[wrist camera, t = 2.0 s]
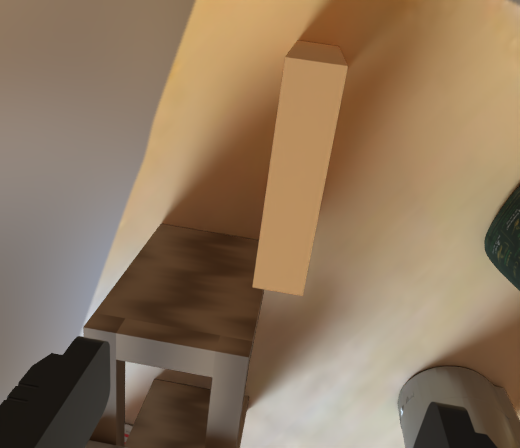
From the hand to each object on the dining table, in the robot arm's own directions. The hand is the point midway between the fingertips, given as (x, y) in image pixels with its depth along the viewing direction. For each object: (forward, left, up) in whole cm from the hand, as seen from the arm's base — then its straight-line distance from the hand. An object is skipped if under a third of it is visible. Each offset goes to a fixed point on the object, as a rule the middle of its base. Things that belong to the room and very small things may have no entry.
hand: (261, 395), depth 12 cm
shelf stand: (+6, +20, -28) cm, 35 cm away
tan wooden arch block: (0, 0, -28) cm, 28 cm away
